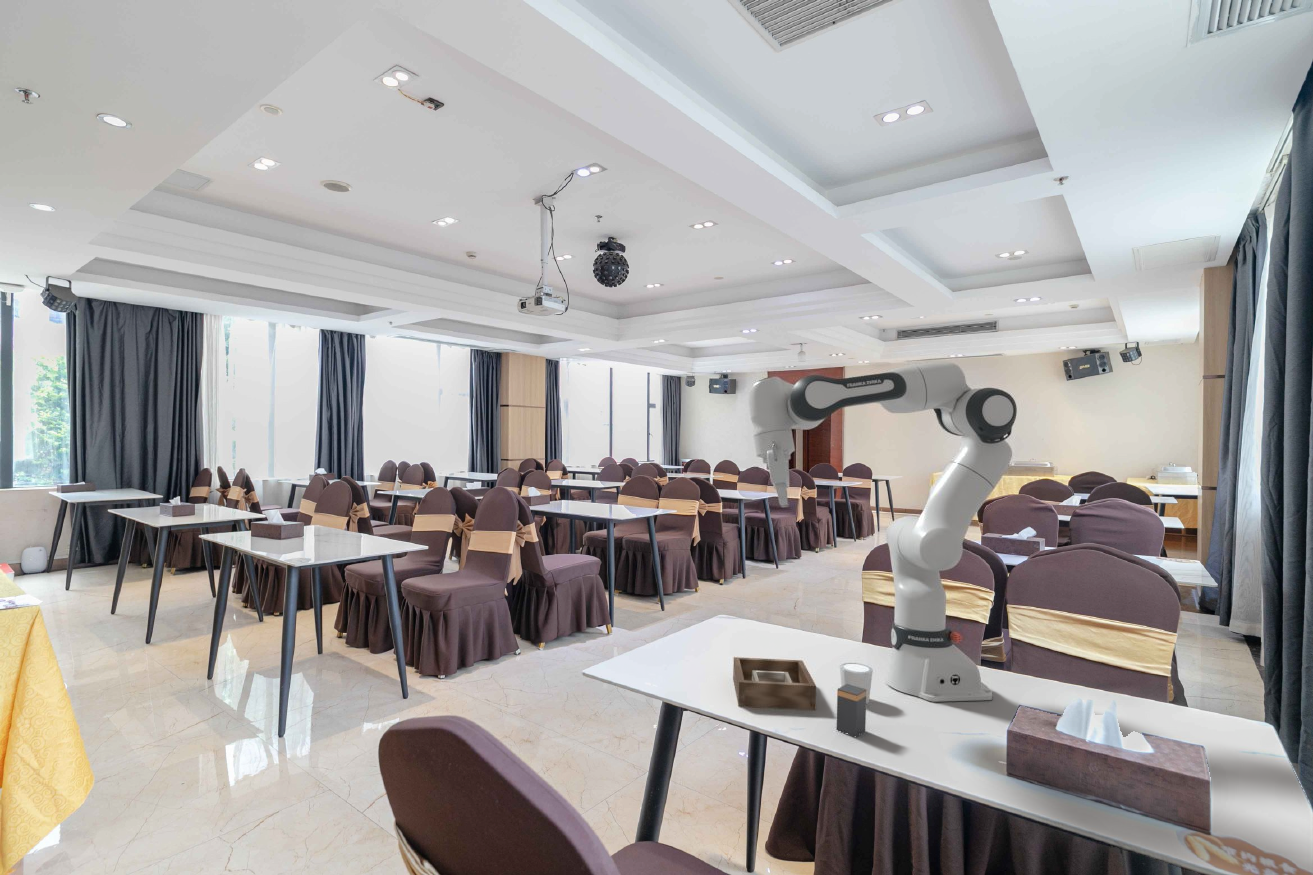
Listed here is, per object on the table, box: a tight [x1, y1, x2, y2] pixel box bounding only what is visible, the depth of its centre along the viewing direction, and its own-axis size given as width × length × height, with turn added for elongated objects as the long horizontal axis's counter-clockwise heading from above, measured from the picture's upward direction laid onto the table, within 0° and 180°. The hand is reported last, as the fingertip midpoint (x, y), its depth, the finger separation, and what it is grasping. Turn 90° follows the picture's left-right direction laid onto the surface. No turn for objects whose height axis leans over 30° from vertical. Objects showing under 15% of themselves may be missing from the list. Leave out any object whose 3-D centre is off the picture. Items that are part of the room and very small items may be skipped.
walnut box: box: [732, 656, 817, 711], centre depth 140 cm, size 16×16×5 cm
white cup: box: [839, 662, 873, 705], centre depth 138 cm, size 7×7×7 cm
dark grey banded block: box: [836, 684, 867, 738], centre depth 122 cm, size 4×4×8 cm
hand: (784, 505), depth 144 cm, fingers open, 8 cm apart
